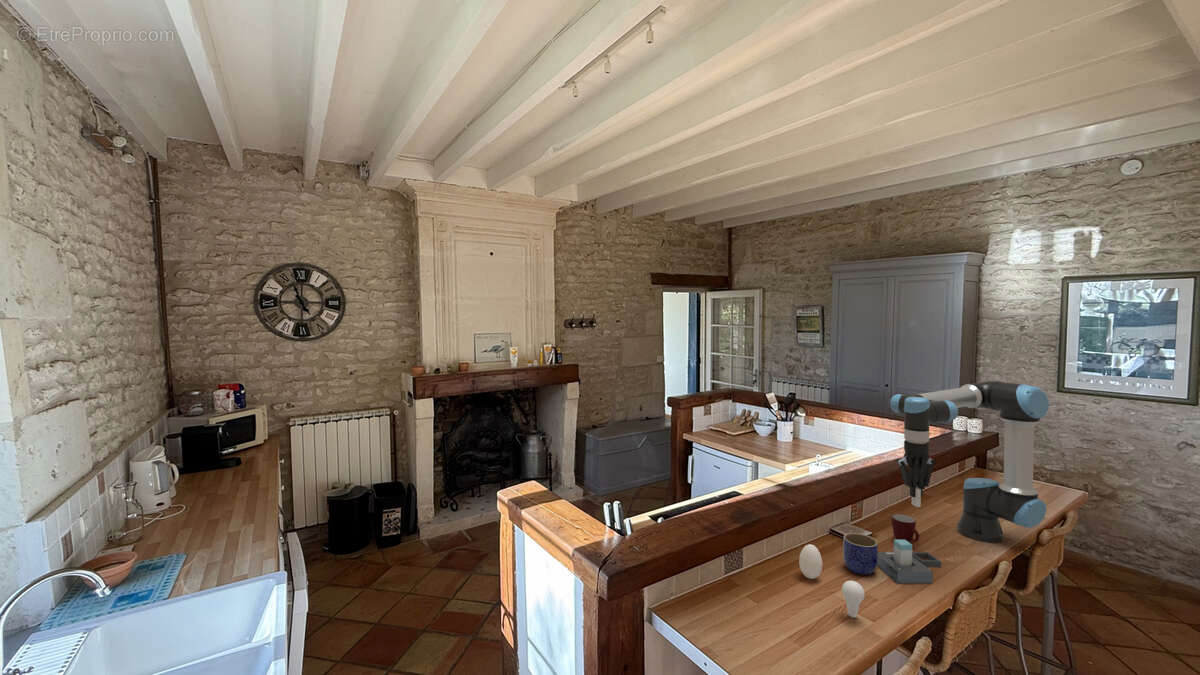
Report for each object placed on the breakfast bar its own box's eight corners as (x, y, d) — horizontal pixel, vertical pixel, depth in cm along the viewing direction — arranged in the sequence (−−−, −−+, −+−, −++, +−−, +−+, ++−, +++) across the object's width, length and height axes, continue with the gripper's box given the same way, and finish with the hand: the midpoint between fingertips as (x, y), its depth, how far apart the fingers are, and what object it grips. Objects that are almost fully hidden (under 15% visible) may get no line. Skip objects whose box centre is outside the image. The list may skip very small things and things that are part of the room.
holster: (927, 557, 183) (928, 552, 183) (941, 566, 176) (941, 561, 176) (909, 557, 183) (909, 552, 183) (921, 567, 176) (922, 561, 176)
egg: (796, 579, 168) (797, 546, 167) (801, 570, 174) (801, 538, 173) (819, 586, 164) (820, 552, 163) (823, 576, 170) (824, 543, 169)
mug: (926, 547, 190) (926, 522, 190) (912, 552, 187) (913, 526, 186) (899, 536, 200) (900, 512, 199) (886, 540, 196) (887, 516, 196)
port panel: (906, 562, 179) (906, 550, 179) (932, 583, 165) (932, 570, 165) (873, 562, 179) (874, 551, 179) (897, 583, 165) (897, 571, 165)
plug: (904, 569, 174) (905, 539, 174) (911, 575, 170) (912, 544, 170) (893, 569, 174) (893, 539, 174) (900, 575, 170) (900, 544, 170)
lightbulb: (837, 611, 150) (837, 577, 149) (855, 610, 150) (856, 576, 150) (848, 624, 144) (849, 588, 143) (868, 623, 144) (869, 587, 144)
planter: (873, 565, 177) (874, 535, 177) (880, 580, 167) (881, 548, 167) (840, 560, 181) (841, 530, 180) (845, 575, 171) (845, 544, 170)
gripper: (927, 437, 177) (926, 500, 179) (891, 438, 177) (891, 502, 178) (942, 443, 170) (941, 509, 171) (905, 444, 170) (904, 510, 171)
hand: (916, 505), depth 175 cm, fingers closed
